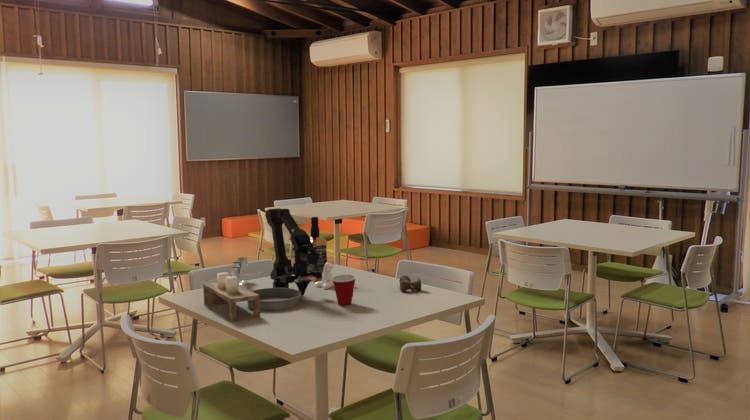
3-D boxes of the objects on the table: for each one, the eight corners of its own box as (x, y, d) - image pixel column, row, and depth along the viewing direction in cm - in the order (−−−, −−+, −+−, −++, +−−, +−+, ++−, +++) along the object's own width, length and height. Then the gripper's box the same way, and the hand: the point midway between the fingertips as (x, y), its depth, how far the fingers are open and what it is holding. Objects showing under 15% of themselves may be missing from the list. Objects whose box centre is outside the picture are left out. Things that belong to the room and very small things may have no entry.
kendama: (414, 285, 310) (423, 293, 290) (394, 287, 308) (403, 295, 289) (413, 273, 309) (423, 281, 290) (394, 275, 308) (402, 282, 288)
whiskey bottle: (302, 278, 327) (300, 217, 324) (317, 275, 334) (316, 215, 330) (314, 281, 319) (313, 218, 316) (329, 278, 326) (328, 216, 323)
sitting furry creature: (313, 286, 308) (313, 262, 307) (328, 283, 313) (328, 260, 312) (324, 289, 301) (323, 265, 299) (339, 287, 306) (338, 262, 305)
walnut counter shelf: (230, 300, 282) (229, 280, 281) (260, 316, 255) (259, 294, 254) (204, 304, 276) (203, 284, 275) (231, 321, 248) (230, 299, 247)
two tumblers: (227, 285, 271) (226, 271, 271) (240, 292, 259) (239, 277, 258) (216, 287, 269) (215, 273, 268) (228, 293, 256) (228, 279, 255)
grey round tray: (257, 314, 259) (256, 303, 258) (236, 302, 279) (235, 292, 279) (311, 305, 272) (310, 295, 271) (287, 294, 293) (287, 285, 292)
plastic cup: (326, 304, 273) (326, 277, 272) (344, 299, 281) (344, 273, 280) (344, 308, 266) (343, 280, 264) (361, 303, 274) (361, 276, 272)
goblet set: (242, 293, 297) (241, 265, 295) (230, 293, 296) (229, 265, 295) (249, 280, 324) (248, 254, 323) (238, 280, 324) (237, 255, 322)
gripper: (309, 256, 293) (310, 289, 295) (273, 261, 282) (275, 295, 284) (322, 259, 285) (323, 293, 286) (285, 264, 273) (287, 300, 275)
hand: (302, 295), depth 283 cm, fingers closed
